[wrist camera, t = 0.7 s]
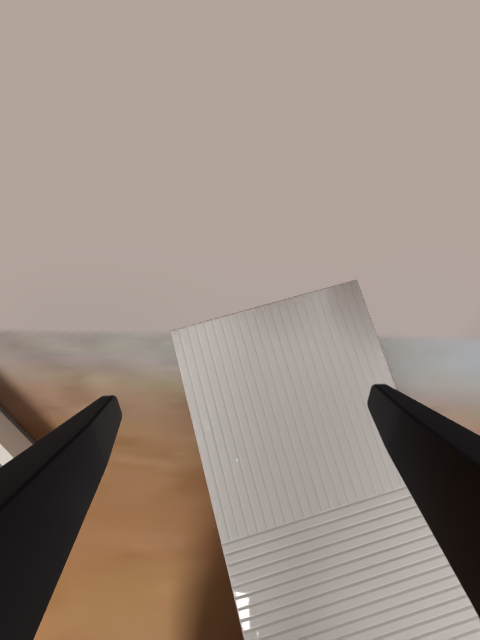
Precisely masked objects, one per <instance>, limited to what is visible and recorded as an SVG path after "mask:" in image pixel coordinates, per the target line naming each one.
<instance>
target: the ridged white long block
mask: <svg viewBox="0 0 480 640" xmlns="http://www.w3.org/2000/svg"><path fill="white" fill-rule="evenodd" d="M171 334H172V339H173V343H174V347H175V351H176V355H177V360H178V364H179V368H180V372H181V376H182V381H183V385H184V389H185V393H186V397H187V402H188V406H189V410H190V414H191V418H192V423H193V427H194V431H195V435H196V439H197V444H198V448H199V452H200V456H201V460H202V465H203V469H204V473H205V477H206V481H207V486H208V490H209V494H210V498H211V502H212V507H213V511H214V515H215V519H216V523H217V528H218V532H219V536H220V540H221V544H222V549H223V553H224V557H225V561H226V566H227V570H228V574H229V578H230V582H231V587H232V591H233V595H234V599H235V603H236V608H237V612H238V616H239V620H240V624H241V629H242V633H243V637H244V640H480V620H479V617H478V615H477V613H476V611H475V609H474V607H473V605H472V604H471V602H470V600H469V598H468V596H467V595H466V593H465V591H464V589H463V587H462V586H461V584H460V582H459V580H458V578H457V577H456V575H455V573H454V571H453V569H452V568H451V566H450V564H449V562H448V560H447V559H446V557H445V555H444V553H443V551H442V550H441V548H440V546H439V544H438V542H437V541H436V539H435V537H434V535H433V533H432V532H431V530H430V528H429V526H428V524H427V523H426V521H425V519H424V517H423V515H422V514H421V512H420V510H419V508H418V506H417V504H416V503H415V501H414V499H413V497H412V495H411V494H410V492H409V490H408V488H407V486H406V485H405V483H404V481H403V479H402V477H401V476H400V474H399V472H398V470H397V468H396V467H395V465H394V463H393V461H392V459H391V458H390V456H389V454H388V452H387V450H386V448H385V446H384V444H383V441H382V439H381V437H380V434H379V432H378V430H377V428H376V425H375V423H374V421H373V418H372V416H371V414H370V412H369V409H368V406H367V401H368V397H369V393H370V390H371V387H372V385H374V384H386V385H388V386H390V387H392V388H394V389H396V387H395V384H394V382H393V379H392V376H391V373H390V370H389V368H388V365H387V362H386V359H385V357H384V354H383V351H382V348H381V345H380V343H379V340H378V337H377V334H376V332H375V329H374V327H373V323H372V321H371V318H370V315H369V312H368V309H367V307H366V304H365V301H364V298H363V296H362V293H361V290H360V287H359V284H358V282H357V280H354V281H350V282H346V283H343V284H339V285H335V286H332V287H328V288H325V289H321V290H317V291H314V292H310V293H306V294H302V295H299V296H295V297H292V298H288V299H284V300H281V301H277V302H273V303H270V304H266V305H262V306H259V307H255V308H251V309H248V310H244V311H241V312H237V313H233V314H230V315H226V316H222V317H219V318H215V319H211V320H208V321H204V322H200V323H197V324H193V325H189V326H186V327H182V328H179V329H175V330H171Z"/></svg>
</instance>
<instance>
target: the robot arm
mask: <svg viewBox="0 0 480 640" xmlns="http://www.w3.org/2000/svg"><path fill="white" fill-rule="evenodd" d="M367 406H368V409H369V412H370V414H371V416H372V418H373V421H374V423H375V425H376V428H377V430H378V432H379V434H380V437H381V439H382V441H383V444H384V446H385V448H386V450H387V452H388V454H389V456H390V458H391V459H392V461H393V463H394V465H395V467H396V468H397V470H398V472H399V474H400V476H401V477H402V479H403V481H404V483H405V485H406V486H407V488H408V490H409V492H410V494H411V495H412V497H413V499H414V501H415V503H416V504H417V506H418V508H419V510H420V512H421V514H422V515H423V517H424V519H425V521H426V523H427V524H428V526H429V528H430V530H431V532H432V533H433V535H434V537H435V539H436V541H437V542H438V544H439V546H440V548H441V550H442V551H443V553H444V555H445V557H446V559H447V560H448V562H449V564H450V566H451V568H452V569H453V571H454V573H455V575H456V577H457V578H458V580H459V582H460V584H461V586H462V587H463V589H464V591H465V593H466V595H467V596H468V598H469V600H470V602H471V604H472V605H473V607H474V609H475V611H476V613H477V614H478V616H479V618H480V436H479V435H477V434H476V433H474V432H472V431H470V430H468V429H466V428H465V427H463V426H461V425H459V424H457V423H456V422H454V421H452V420H450V419H448V418H446V417H445V416H443V415H441V414H439V413H437V412H436V411H434V410H432V409H430V408H428V407H427V406H425V405H423V404H421V403H419V402H417V401H416V400H414V399H412V398H410V397H408V396H407V395H405V394H403V393H401V392H399V391H397V390H396V389H394V388H392V387H390V386H388V385H386V384H374V385H372V387H371V390H370V393H369V397H368V401H367ZM121 419H122V412H121V409H120V406H119V403H118V400H117V397H116V396H114V395H111V396H102V397H100V398H99V399H97V400H96V401H95V402H93V403H92V404H90V405H89V406H87V407H86V408H85V409H83V410H82V411H80V412H79V413H77V414H76V415H74V416H73V417H72V418H70V419H69V420H67V421H66V422H64V423H63V424H62V425H60V426H59V427H57V428H56V429H54V430H53V431H52V432H50V433H49V434H47V435H46V436H44V437H43V438H42V439H40V440H39V441H37V442H36V443H34V444H33V445H32V446H30V447H29V448H27V449H26V450H24V451H23V452H21V453H20V454H19V455H17V456H16V457H14V458H13V459H11V460H10V461H9V462H7V463H6V464H4V465H3V466H1V467H0V640H33V639H34V637H35V634H36V632H37V630H38V627H39V625H40V622H41V620H42V618H43V615H44V613H45V611H46V608H47V606H48V604H49V601H50V599H51V596H52V594H53V592H54V589H55V587H56V585H57V582H58V580H59V578H60V575H61V573H62V570H63V568H64V566H65V563H66V561H67V559H68V556H69V554H70V552H71V549H72V547H73V544H74V542H75V540H76V537H77V535H78V533H79V530H80V528H81V526H82V523H83V521H84V518H85V516H86V514H87V511H88V509H89V507H90V504H91V502H92V500H93V497H94V495H95V493H96V490H97V488H98V485H99V483H100V481H101V478H102V476H103V474H104V471H105V469H106V466H107V463H108V461H109V458H110V454H111V451H112V448H113V445H114V442H115V438H116V435H117V432H118V429H119V426H120V422H121Z"/></svg>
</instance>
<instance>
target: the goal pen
mask: <svg viewBox="0 0 480 640" xmlns="http://www.w3.org/2000/svg"><path fill="white" fill-rule="evenodd" d="M34 443H36V442H35V441H34V440H33V439H32V438H31V437H30V436H29V435H28V434H27V433H26V432H25V431H24V429H23V428H22V427H21V426H20V425H19V424H18V423H17V422H16V421H15V420H14V419H13V418H12V417H11V416H10V415H9V414H8V413H7V412H6V411H5V410H4V409H3V408H2V407H1V406H0V467H1V466H3V465H4V464H6V463H7V462H9V461H10V460H11V459H13V458H14V457H16V456H17V455H19V454H20V453H21V452H23V451H24V450H26V449H27V448H29V447H30V446H32V445H33V444H34Z"/></svg>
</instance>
